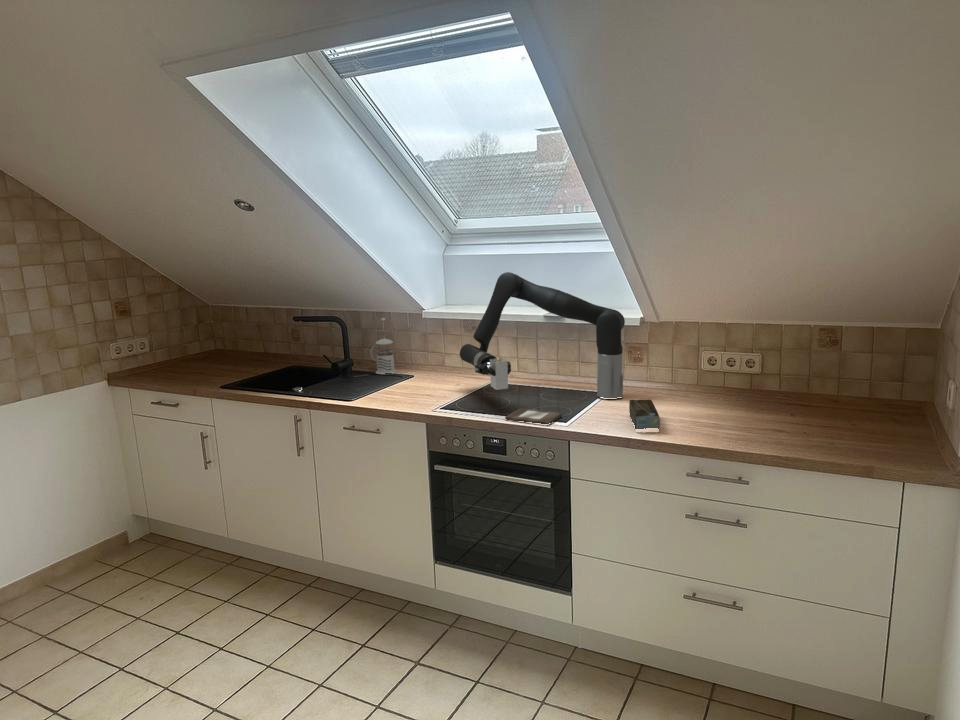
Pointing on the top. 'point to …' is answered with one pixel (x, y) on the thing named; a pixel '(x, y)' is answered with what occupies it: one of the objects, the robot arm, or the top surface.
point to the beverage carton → (644, 414)
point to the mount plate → (533, 416)
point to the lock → (499, 373)
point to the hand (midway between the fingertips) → (501, 372)
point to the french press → (385, 367)
